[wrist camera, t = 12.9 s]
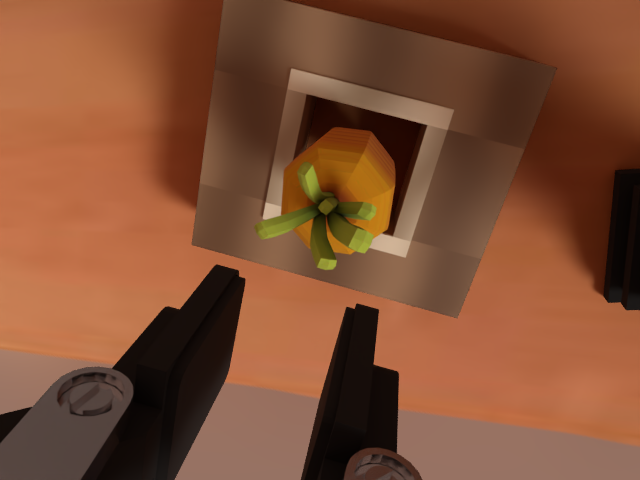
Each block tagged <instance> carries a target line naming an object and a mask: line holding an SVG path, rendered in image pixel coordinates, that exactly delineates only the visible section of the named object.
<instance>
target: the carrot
mask: <svg viewBox="0 0 640 480" xmlns="http://www.w3.org/2000/svg"><path fill="white" fill-rule="evenodd" d="M394 188H395V164H394V161H393V160H392V158H391V157H390V155H389V154H388V153H387V151H386V150H385V149H384V147H383V146H382V145H381V144H380V142H379V141H378V140H377V138H376V137H375V136H374V134H373V133H372V132H371V131H366V130H358V129H350V128H342V127H335V128H333V129H331V130H330V131H329V132H327V133H326V134H325V135H324V136H322V137H321V138H320V139H319V140H317V141H316V142H315V143H314V144H313V145H311V146H310V147H309V148H308V149H306V150H305V151H304V152H303V153H301V154H300V155H299V156H298V157H296V158H295V159H294V160H293V161H292V162H291V163H290V164H289V165H288V166H287V167H286V168H285V169H284V175H283V190H282V205H281V216H277V217H274V218H270V219H267V220H264V221H261V222H259V223H257V224H255V226H254V228H255V231H256V233H257V235H258V236H259V237H260V238H261V240H262V239H268V238H272V237H275V236H278V235H281V234H284V233H287V232H289V231H290V230H292V229H293V231H294V232H295V233H296V234H297V235H298V236H299V238H300V239H301V240H302V241H303V242H304V244H305V245H306V246H307V247H308V248H310V249H311V252H312V256H313V259H314V261H315V264H316V266H317V268H321V269H324V270H331V269H334V268H335V266H336V263H337V259H336V257H335V254H334V252H336V253H343V254H349V255H350V254H352V253H353V252H355V251H357V252H361V253H364V254H365V252H366V251H367V250H368V248H369V247H370V246H371V243H372V240H373V239H374V238H375V237H377V236H378V235H380V234H381V233H383V232H384V231H386V230H387V229H388V226H389V220H390V214H391V208H392V201H393V195H394Z"/></svg>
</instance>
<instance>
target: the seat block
mask: <svg viewBox="0 0 640 480" xmlns="http://www.w3.org/2000/svg"><path fill="white" fill-rule="evenodd" d="M556 70H557V68H556V67H552V66H549V65H546V64H542V63H539V62H536V61H532V60H527V59H523V58H519V57H515V56H511V55H507V54H503V53H499V52H495V51H491V50H487V49H483V48H479V47H475V46H471V45H467V44H463V43H459V42H455V41H450V40H446V39H442V38H438V37H434V36H430V35H426V34H422V33H418V32H414V31H410V30H406V29H402V28H398V27H394V26H390V25H386V24H382V23H378V22H373V21H369V20H365V19H361V18H357V17H353V16H349V15H345V14H341V13H337V12H333V11H329V10H325V9H321V8H317V7H313V6H309V5H305V4H301V3H296V2H292V1H288V0H223V8H222V15H221V23H220V31H219V38H218V46H217V54H216V61H215V69H214V77H213V84H212V92H211V100H210V108H209V115H208V123H207V131H206V138H205V146H204V154H203V161H202V169H201V177H200V184H199V192H198V200H197V207H196V215H195V223H194V230H193V238H192V245H194V246H197V247H201V248H205V249H208V250H212V251H216V252H219V253H223V254H226V255H230V256H234V257H237V258H241V259H244V260H248V261H252V262H255V263H259V264H263V265H266V266H270V267H273V268H277V269H281V270H284V271H288V272H291V273H295V274H299V275H302V276H306V277H310V278H313V279H317V280H320V281H324V282H328V283H331V284H335V285H338V286H342V287H346V288H349V289H353V290H357V291H360V292H364V293H367V294H371V295H375V296H378V297H382V298H385V299H389V300H393V301H396V302H400V303H404V304H407V305H411V306H414V307H418V308H422V309H425V310H429V311H432V312H436V313H440V314H443V315H447V316H451V317H454V318H458V316H459V313H460V311H461V308H462V306H463V303H464V301H465V298H466V296H467V293H468V291H469V288H470V286H471V283H472V281H473V278H474V276H475V273H476V271H477V268H478V265H479V263H480V260H481V258H482V255H483V253H484V250H485V248H486V245H487V243H488V240H489V238H490V235H491V233H492V230H493V228H494V225H495V223H496V220H497V218H498V215H499V213H500V210H501V208H502V205H503V203H504V200H505V198H506V195H507V193H508V190H509V188H510V185H511V183H512V180H513V178H514V175H515V173H516V170H517V168H518V165H519V163H520V160H521V158H522V155H523V153H524V150H525V148H526V145H527V143H528V140H529V138H530V135H531V133H532V130H533V127H534V125H535V122H536V120H537V117H538V115H539V112H540V110H541V107H542V105H543V102H544V100H545V97H546V95H547V92H548V90H549V87H550V85H551V82H552V80H553V77H554V75H555V72H556ZM317 97H320V98H324V99H328V100H332V101H336V102H340V103H344V104H348V105H352V106H356V107H359V108H363V109H367V110H371V111H375V112H379V113H383V114H387V115H391V116H395V117H398V118H402V119H406V120H410V121H414V122H418V123H421V127H420V130H419V133H418V136H417V140H416V143H415V146H414V150H413V153H412V156H411V159H410V163H409V166H408V169H407V172H406V176H405V179H404V182H403V186H402V189H401V192H400V195H399V199H398V202H397V205H396V208H395V211H393V210H391V214H390V220H389V226H388V229H387V230H386V231H384V232H383V233H381V234H380V235H378V236H377V237H375V238H374V239H373V240H372V243H371V246H370V247H369V248H368V250H367V251H366V252H365V254H364V253H361V252H357V251H355V252H353V253H352V254H350V255H349V254H343V253H336V252H334V254H335V257H336V259H337V263H336V266H335V268H334V269H331V270H324V269H321V268H317V266H316V264H315V261H314V259H313V256H312V252H311V249H310V248H308V247H307V246H306V245H305V244H304V242H303V241H302V240H301V239H300V238H299V236H298V235H297V234H296V233H295V232H294V231H293V229H292V230H290V231H289V232H287V233H284V234H281V235H278V236H275V237H272V238H268V239H262V240H261V238H260V237H259V236H258V235H257V233H256V231H255V228H254V226H255V224H257V223H259V222H261V221H264V220H267V219H270V218H274V217H277V216H281V205H282V190H283V175H284V169H285V168H286V167H287V166H288V165H289V164H290V163H291V162H292V161H293V160H294V159H295V158H296V157H298V156H299V155H300V154H301V153H303V152H304V151H305V150H306V146H307V141H308V137H309V132H310V128H311V123H312V118H313V114H314V109H315V104H316V100H317Z"/></svg>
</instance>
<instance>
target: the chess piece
mask: <svg viewBox="0 0 640 480" xmlns="http://www.w3.org/2000/svg"><path fill="white" fill-rule="evenodd" d="M604 298H605V299H606V300H607V302H608V303H615V302H621V304H622V305H623V307H624V308H625V309H626V310H640V169H628V170H615V179H614V190H613V201H612V211H611V222H610V233H609V243H608V254H607V265H606V275H605V286H604Z"/></svg>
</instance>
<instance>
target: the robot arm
mask: <svg viewBox="0 0 640 480" xmlns="http://www.w3.org/2000/svg"><path fill="white" fill-rule="evenodd" d="M244 287H245V278H242V277H239V271H238V270H235V269H231V268H228V267H224V266H221V265H215V266H214V267H213V268H212V270H211V271H210V272H209V274H208V275H207V276H206V277H205V279H204V280H203V281H202V282H201V284H200V285H199V286H198V287H197V289H196V290H195V291H194V292H193V294H192V295H191V296H190V297H189V299H188V300H187V301H186V302H185V304H184V305H183V306H182V307H181V309H180V310H179V309H176V308H172V307H169V306H168V307H165V308H164V309H163V310H162V311H161V312H160V313H159V314H158V315H157V316H156V318H155V319H154V320H153V321H152V322H151V323H150V325H149V326H148V327H147V328H146V329H145V330H144V332H143V333H142V334H141V335H140V336H139V337H138V339H137V340H136V341H135V342H134V343H133V344H132V346H131V347H130V348H129V349H128V350H127V351H126V353H125V354H124V355H123V356H122V357H121V359H120V360H119V361H118V362H117V363H116V364H115V366H114V367H113V368H112V369H111V368H104V367H86V368H82V369H78V370H74V371H72V372H70V373H67V374H65V375H63V376H62V377H60V378H59V379H58V380H57V381H56V382H55V383H53V384H52V386H51V387H50V388H49V389H48V390H47V391H46V392H45V393H44V395H43V396H42V397H41V398H40V399H39V400H38V401H37V402H36V404H35V405H34V406H33V407H29V408H25V409H21V410H17V411H13V412H9V413H5V414H1V415H0V480H174V479H175V478H176V476H177V474H178V472H179V470H180V468H181V466H182V464H183V462H184V460H185V458H186V456H187V454H188V452H189V450H190V448H191V446H192V444H193V442H194V440H195V438H196V436H197V435H198V433H199V431H200V428H201V427H202V425H203V423H204V421H205V419H206V417H207V415H208V413H209V411H210V409H211V407H212V405H213V403H214V401H215V399H216V397H217V395H218V393H219V392H220V389H221V387H222V386H223V384H224V382H225V380H226V377H227V374H228V371H229V367H230V362H231V357H232V352H233V346H234V341H235V336H236V330H237V325H238V319H239V314H240V309H241V303H242V298H243V292H244ZM378 314H379V310H378V309H375V308H372V307H368V306H364V305H361V304H356V307H355V309H353V308H349V307H346V310H345V313H344V317H343V320H342V324H341V327H340V331H339V334H338V338H337V341H336V345H335V348H334V352H333V355H332V359H331V362H330V366H329V369H328V373H327V376H326V380H325V383H324V387H323V390H322V394H321V397H320V401H319V405H318V409H317V413H316V418H315V422H314V426H313V431H312V435H311V439H310V443H309V447H308V452H307V456H306V460H305V464H304V469H303V473H302V477H301V480H422V478H421V476H420V474H419V472H418V471H417V470H416V469H415V467H414V466H413V465H412V464H411V463H410V462H409V461H408V460H406V459H405V458H404V457H402V456H401V455H399V454H397V425H398V424H397V423H398V387H399V373H398V372H397V371H394V370H390V369H387V368H383V367H380V366H376V365H373V363H374V353H375V344H376V334H377V324H378Z"/></svg>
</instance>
